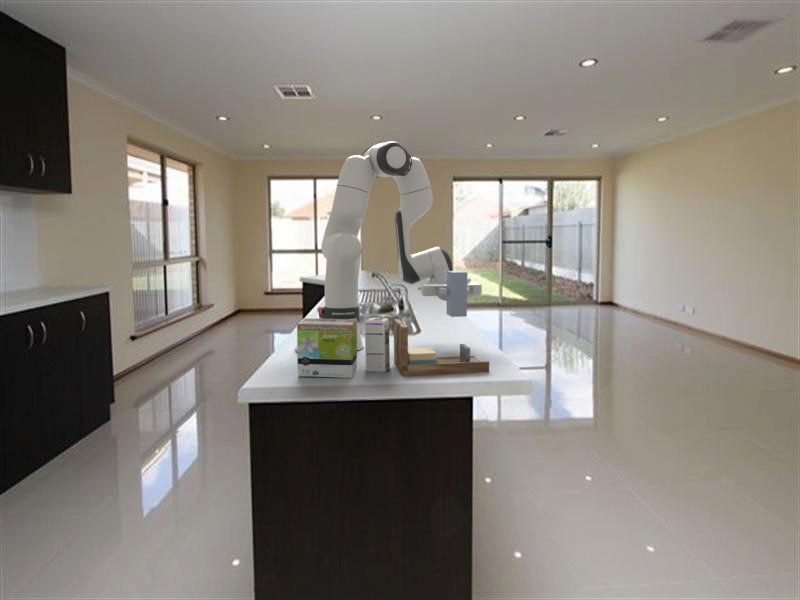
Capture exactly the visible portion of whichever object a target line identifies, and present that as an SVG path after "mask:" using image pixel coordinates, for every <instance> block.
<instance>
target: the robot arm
mask: <svg viewBox="0 0 800 600" xmlns="http://www.w3.org/2000/svg"><path fill="white" fill-rule="evenodd" d="M388 177H391V178H392V179H393V180H394V181H395V183H396V185H397V189H398V193H399V198H400V204H399V209H398V210H397V211H396V212H395V217H394V219H395V220H394V221H395V224H394V225H395V234H396V235H395V236H396V248H397V261H398V262H397V263H398V264H397V265H398V266H397V268H398V269H397V270H398V275H399V277H400V278H401V281H403V282H404V283H407V284H410V285H414V284H416V283H418V282H421V281H423V280H425V283H421V286H420V287H417V290H418V291H420V295H422V296H423V297H434V298H435V297H436V298H438V299H439V300H441V301H445V302H447V295H449V294H450V293H449V292H450V290H449V289H447V271H454V270H453V262H452V259H451V257H450V254H449V253H448V251H446V250H445V249H443V248H442V247H440V246H435V247H432V248H429V249H426V250H423V251H419V252H417V253H413V254H412V253H411V248H410V246H411V245H410V236H409V233H410V229H411V228H412V226H413V225H414V224H415V223H417V221H418V220H420V219H421V218H422V217H423V216H425V215H426V214H427V213H428V211H430V210H431V207H432V205H433V203H434V196H433V190H432V186H431V183H430V179H429V177H428V173H427V171H426V168H425V166H424V164H423V161H421V160H420V159H419V158H417V157H414V156H413V157H412V156H411V154H410V153H409V152H408V149H407V148H406V147H405V146H404V145H403V144H401V143H400V142H397V141H393V140H392V141H387V142H379V143H377V144H374V145H372V146H370V147H368V148H366V150H365V151H363V153H362V154H361V155H351V156H349V157H347V158H346V159H345V161H344V163H343V165H342V167H341V169H340V173H339V177H338V179H337V183H336V186H335V187H336V189H335V193H334V197H333V201H332V207H331V211H330V214H329V217H328V221H327V224H326V227H325V229H324V234H323V238H322V241H321V247H320V248H321V252H322V255H323V257H324V258H325V259H326V266H325V267H326V268H325V277H324V306H318V307H317V312H318V317H319V318H318V319H352V320H357V351H359V350H362V349H363V348H364V344H363V341H362V336H361V330H360V321H361V309H360V305H359V276H360V270H361V255H362V243H361V241H360V239H359V238H358V236H359V234H360V230H361V227H362V224H363V222H364V220H365V218H366V215H367V213H366V212H367V209H368V204H369V199H370V195H371V189H372V184H373V182H374V180H375V179H376V178H388ZM482 290H483V286H482V284H481V283H480V282H477V281H475V280H472V279H471V278H469V277H467V298H469V297H472V296H481V295H482V292H483V291H482ZM295 352H297V344H296V345H295Z"/></svg>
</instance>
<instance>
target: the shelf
mask: <svg viewBox="0 0 800 600" xmlns="http://www.w3.org/2000/svg"><path fill="white" fill-rule="evenodd" d="M408 329H409V326H407V325H406V324H405V323H404V322H403V321H402V320H401V319H400V318H393V366H395V368H396V369H397V370H398V372H399V374H400V375H401V377H419V376H420V377H421V376H439V375H459V374H460V375H462V374H463V375H464V374H479V372H486V373H490V361H489V360H480V361H475V362H461V361H460V355H458V356H438V357H437V356H436V358H437V359H438V360H437V363H430V364H408V348H409V346H408V345H409V330H408ZM474 358H477V357H476V356H475V355H470V359H474Z"/></svg>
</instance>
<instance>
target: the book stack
mask: <svg viewBox="0 0 800 600" xmlns="http://www.w3.org/2000/svg"><path fill="white" fill-rule="evenodd" d="M436 357H437V352H436V351H434V350H433V349H432V348H431V347H413V348H412V347H410V348H409V347H408V364H430V363H437V360H438V359H437V358H436Z"/></svg>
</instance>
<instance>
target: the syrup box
mask: <svg viewBox="0 0 800 600" xmlns="http://www.w3.org/2000/svg"><path fill="white" fill-rule="evenodd" d="M364 338H365V339H364V343H365V345H364V347H365V349H364V350H365V351H364V352H365V370H366V371H367V372H373V371H379V372H378V373H381V372H382V373H385V372H386V371H387V370H388V369H389V368H390V366H391V365H390V364H391V363H390V362H391V360H390V357H391V355H390V354H391V353H390V320H389V318H388V317H370V318H368V319H367V320H364Z"/></svg>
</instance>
